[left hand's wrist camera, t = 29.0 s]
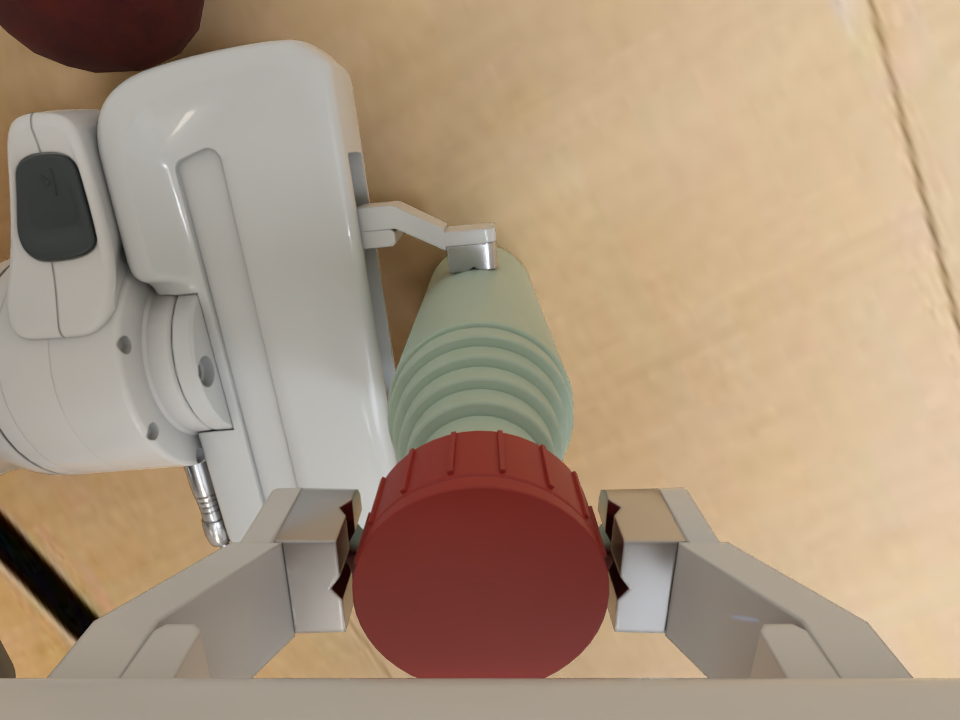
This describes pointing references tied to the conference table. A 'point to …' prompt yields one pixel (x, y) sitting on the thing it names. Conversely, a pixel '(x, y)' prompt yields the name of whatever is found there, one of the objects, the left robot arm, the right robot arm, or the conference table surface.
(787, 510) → the conference table surface
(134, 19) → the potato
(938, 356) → the conference table surface
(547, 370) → the bottle
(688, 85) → the conference table surface
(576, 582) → the cap
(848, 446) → the conference table surface
